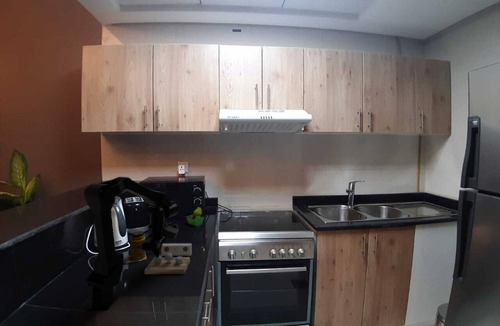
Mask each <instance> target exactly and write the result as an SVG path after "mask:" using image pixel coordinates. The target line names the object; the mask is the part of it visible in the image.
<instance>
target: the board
mask: <svg viewBox="0 0 500 326" xmlns="http://www.w3.org/2000/svg"><path fill="white" fill-rule="evenodd" d="M182 257H183V263H181V264H176V263H175V258H176V257H174V256H173V257H172V260H170V264H167V261H166V260H165V257H162V261H161V262H160V264H157V263H154V258H152V260H151V261H150V263H148V265H147V266H146V267H145V268H144V275H176V274H177V275H183V274H184V275H185V273H186V271H187V269H188V267H189V264H190V263H191V258H190V257H191V256H190V257H189V256H187V257H185V256H182Z"/></svg>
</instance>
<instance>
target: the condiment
mask: <svg viewBox="0 0 500 326" xmlns="http://www.w3.org/2000/svg"><path fill="white" fill-rule="evenodd" d="M144 241H146V237H145V231H143V230H142V231H141V230H138V231H133V232H132V233H131V240H130V255H126V256H125V255H124V257H125V262H126V263H125V264H131V263H134V262H139V261H143V260H147V259H148V257H147V255H146V250H141V244H142V243H143V242H144Z"/></svg>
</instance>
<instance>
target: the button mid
mask: <svg viewBox="0 0 500 326" xmlns="http://www.w3.org/2000/svg"><path fill="white" fill-rule="evenodd" d="M164 258H165V260H166V261H167V264H170V260H172V258H173V256H172V253H167V254H165V256H164Z"/></svg>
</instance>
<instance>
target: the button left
mask: <svg viewBox="0 0 500 326" xmlns="http://www.w3.org/2000/svg"><path fill="white" fill-rule="evenodd" d="M162 258H163V256H161V254H160V256H159V257H156V256H155V255H154V257H153V259H154V263H157V264H160V262H161V261H162Z"/></svg>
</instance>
